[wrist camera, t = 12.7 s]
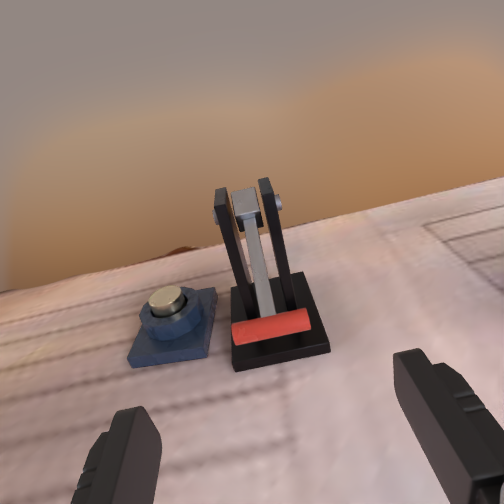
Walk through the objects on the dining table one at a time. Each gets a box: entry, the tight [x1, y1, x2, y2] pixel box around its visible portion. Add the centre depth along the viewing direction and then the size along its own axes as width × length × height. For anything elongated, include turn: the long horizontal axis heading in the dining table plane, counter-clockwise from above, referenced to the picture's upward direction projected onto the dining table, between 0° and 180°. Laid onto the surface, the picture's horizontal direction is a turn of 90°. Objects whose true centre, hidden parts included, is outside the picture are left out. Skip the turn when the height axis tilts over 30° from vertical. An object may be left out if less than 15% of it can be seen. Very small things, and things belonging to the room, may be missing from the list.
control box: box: [127, 287, 218, 368], centre depth 38 cm, size 10×8×4 cm
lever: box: [231, 187, 311, 345], centre depth 27 cm, size 13×5×2 cm, turn 4°
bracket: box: [213, 177, 331, 372], centre depth 33 cm, size 12×9×15 cm
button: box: [149, 285, 186, 319], centre depth 37 cm, size 4×4×2 cm
